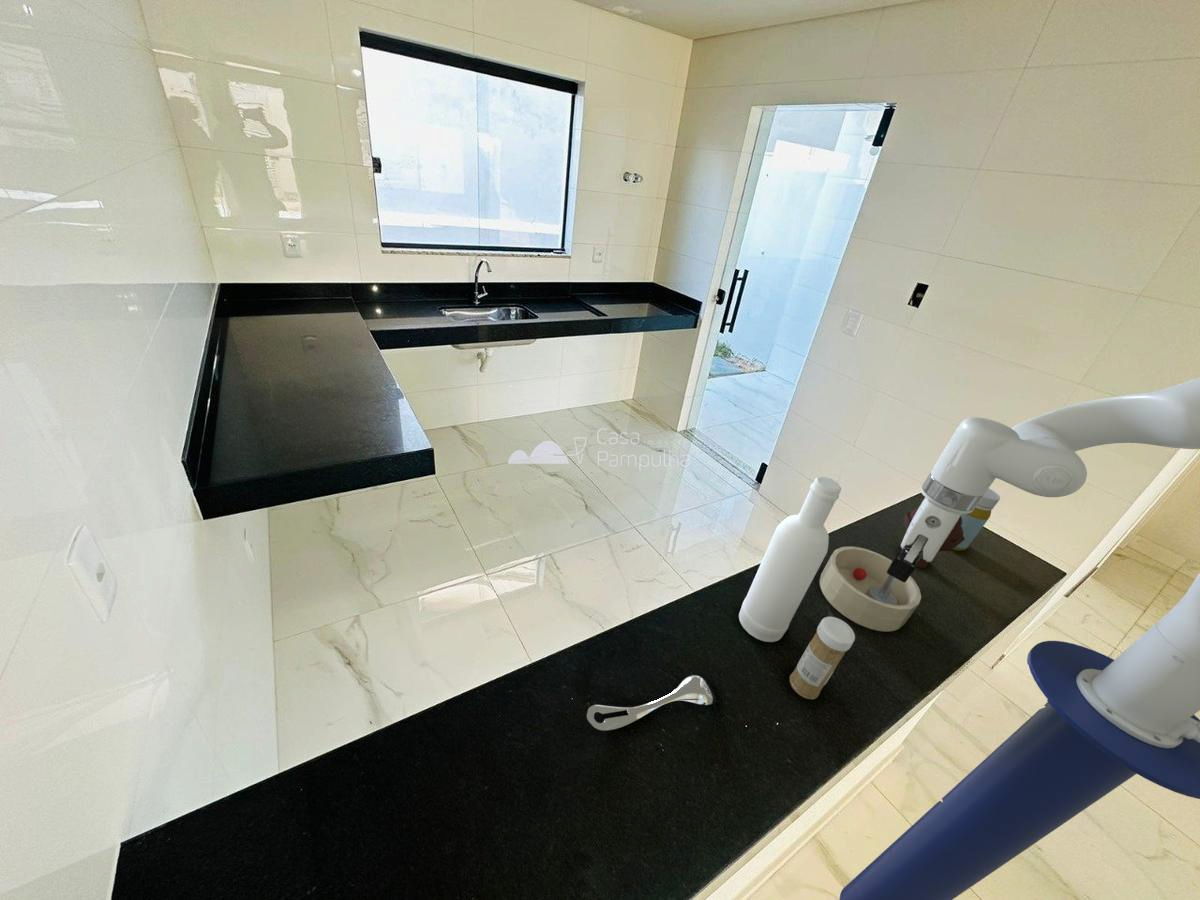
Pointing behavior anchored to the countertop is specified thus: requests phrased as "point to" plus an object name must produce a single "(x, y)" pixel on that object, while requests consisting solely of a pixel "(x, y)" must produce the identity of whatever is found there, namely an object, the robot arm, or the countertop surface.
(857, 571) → the bead
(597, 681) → the countertop surface
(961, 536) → the ice cream bowl
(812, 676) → the sprinkles bottle
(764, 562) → the bottle
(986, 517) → the bottle
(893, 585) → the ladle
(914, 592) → the mixing bowl
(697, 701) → the ice cream scoop
